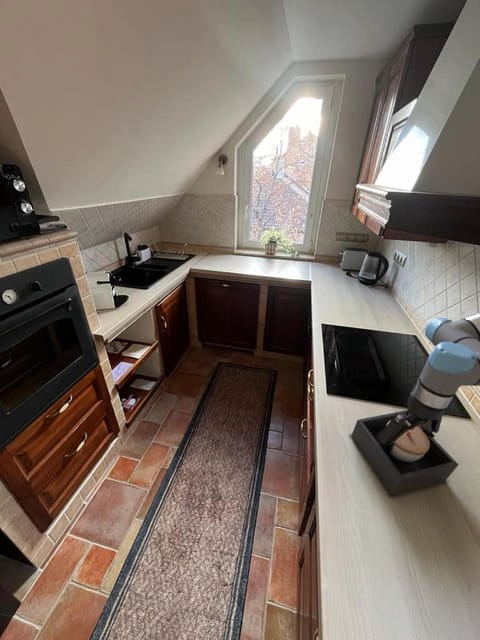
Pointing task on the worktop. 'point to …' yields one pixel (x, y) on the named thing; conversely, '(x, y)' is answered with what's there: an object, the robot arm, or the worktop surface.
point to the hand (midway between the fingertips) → (398, 450)
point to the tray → (394, 471)
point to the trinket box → (410, 445)
